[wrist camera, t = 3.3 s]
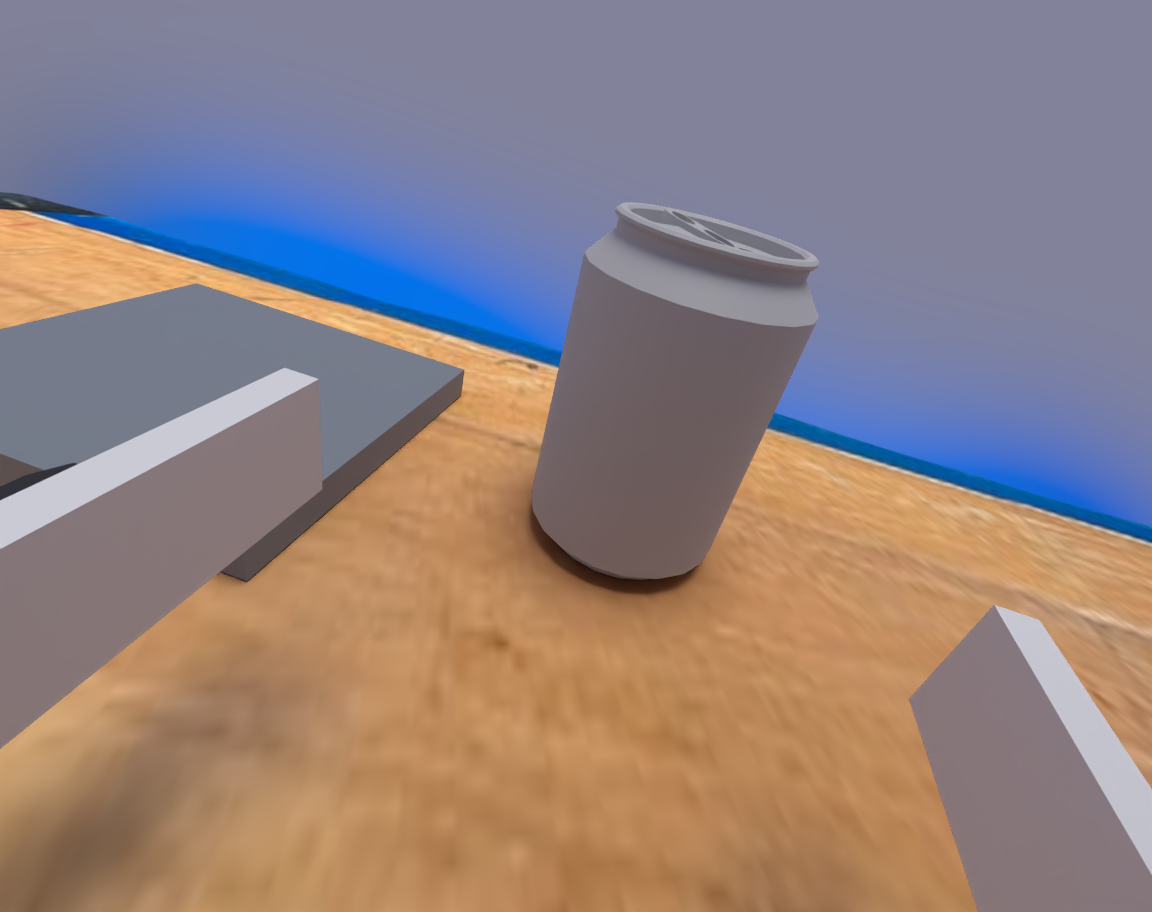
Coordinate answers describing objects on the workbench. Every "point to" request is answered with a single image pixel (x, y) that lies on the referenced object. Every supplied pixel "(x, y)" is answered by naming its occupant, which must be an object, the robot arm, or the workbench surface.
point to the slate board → (206, 387)
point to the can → (667, 386)
